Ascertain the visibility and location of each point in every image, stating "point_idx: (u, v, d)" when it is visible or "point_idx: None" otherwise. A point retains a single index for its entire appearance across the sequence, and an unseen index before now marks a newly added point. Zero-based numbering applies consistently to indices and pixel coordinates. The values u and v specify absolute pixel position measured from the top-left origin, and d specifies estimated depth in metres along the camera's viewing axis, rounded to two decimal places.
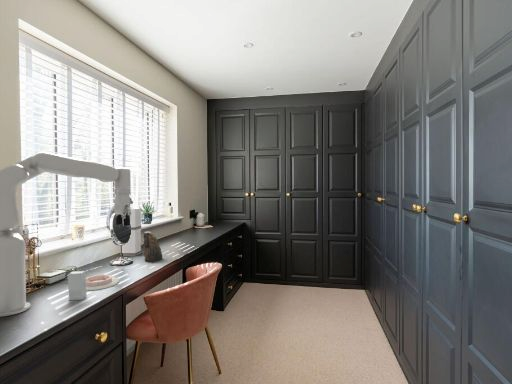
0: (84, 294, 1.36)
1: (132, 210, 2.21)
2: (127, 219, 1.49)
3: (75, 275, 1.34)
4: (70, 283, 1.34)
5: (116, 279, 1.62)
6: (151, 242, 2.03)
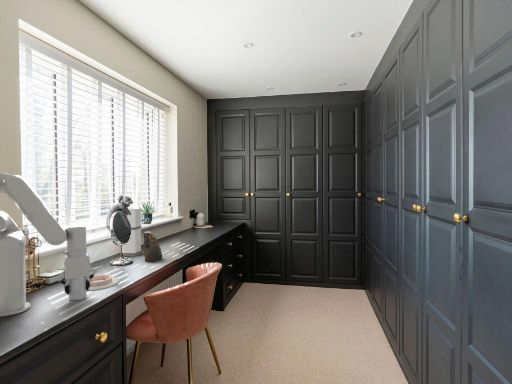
0: (84, 294, 1.36)
1: (132, 210, 2.21)
2: None
3: None
4: (70, 283, 1.34)
5: (116, 279, 1.62)
6: (151, 242, 2.03)
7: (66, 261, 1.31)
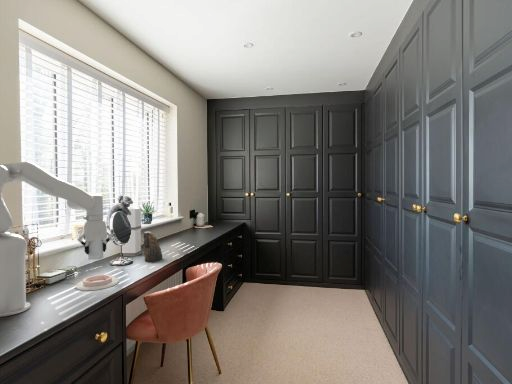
0: (101, 255, 1.54)
1: (132, 210, 2.21)
2: None
3: None
4: (89, 244, 1.52)
5: (116, 279, 1.62)
6: (151, 242, 2.03)
7: (86, 225, 1.49)
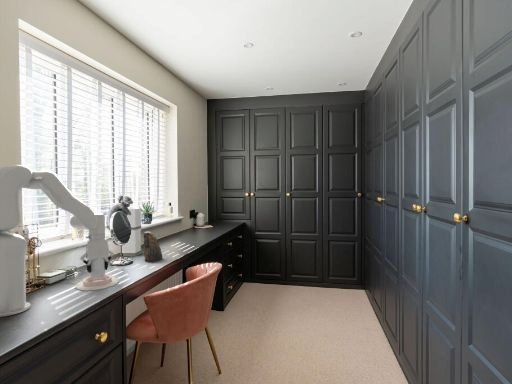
0: (103, 273, 1.57)
1: (132, 210, 2.21)
2: None
3: None
4: (91, 263, 1.54)
5: (116, 279, 1.62)
6: (151, 242, 2.03)
7: (88, 244, 1.52)
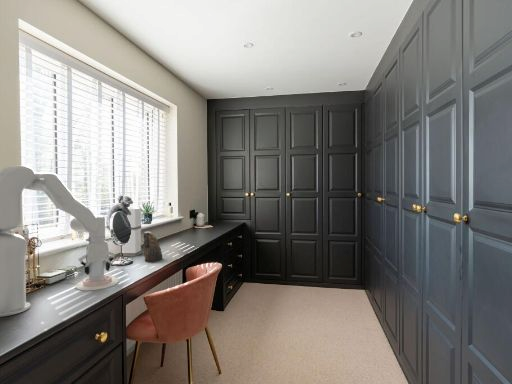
0: (102, 279, 1.56)
1: (132, 210, 2.21)
2: None
3: (95, 262, 1.54)
4: (90, 269, 1.54)
5: (116, 279, 1.62)
6: (151, 242, 2.03)
7: (88, 246, 1.52)
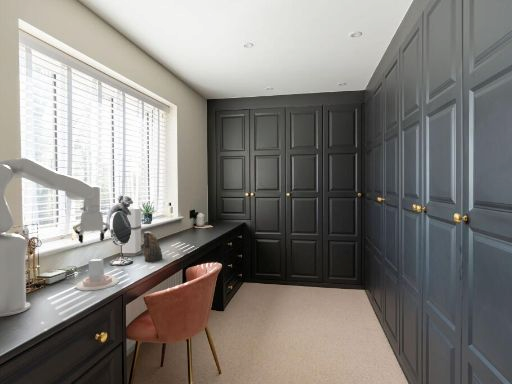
0: (102, 279, 1.56)
1: (132, 210, 2.21)
2: None
3: (95, 262, 1.54)
4: (90, 269, 1.54)
5: (116, 279, 1.62)
6: (151, 242, 2.03)
7: (82, 215, 1.53)
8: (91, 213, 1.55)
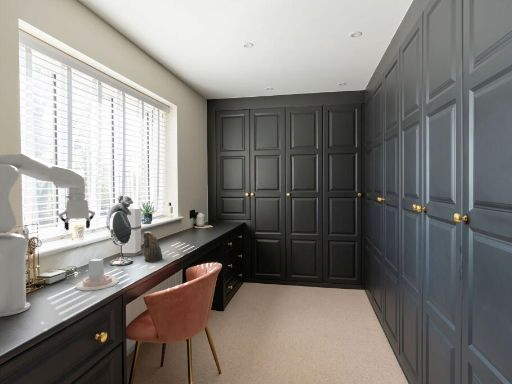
0: (102, 279, 1.56)
1: (132, 210, 2.21)
2: None
3: (95, 262, 1.54)
4: (90, 269, 1.54)
5: (116, 279, 1.62)
6: (151, 242, 2.03)
7: (68, 203, 1.57)
8: (76, 201, 1.59)
